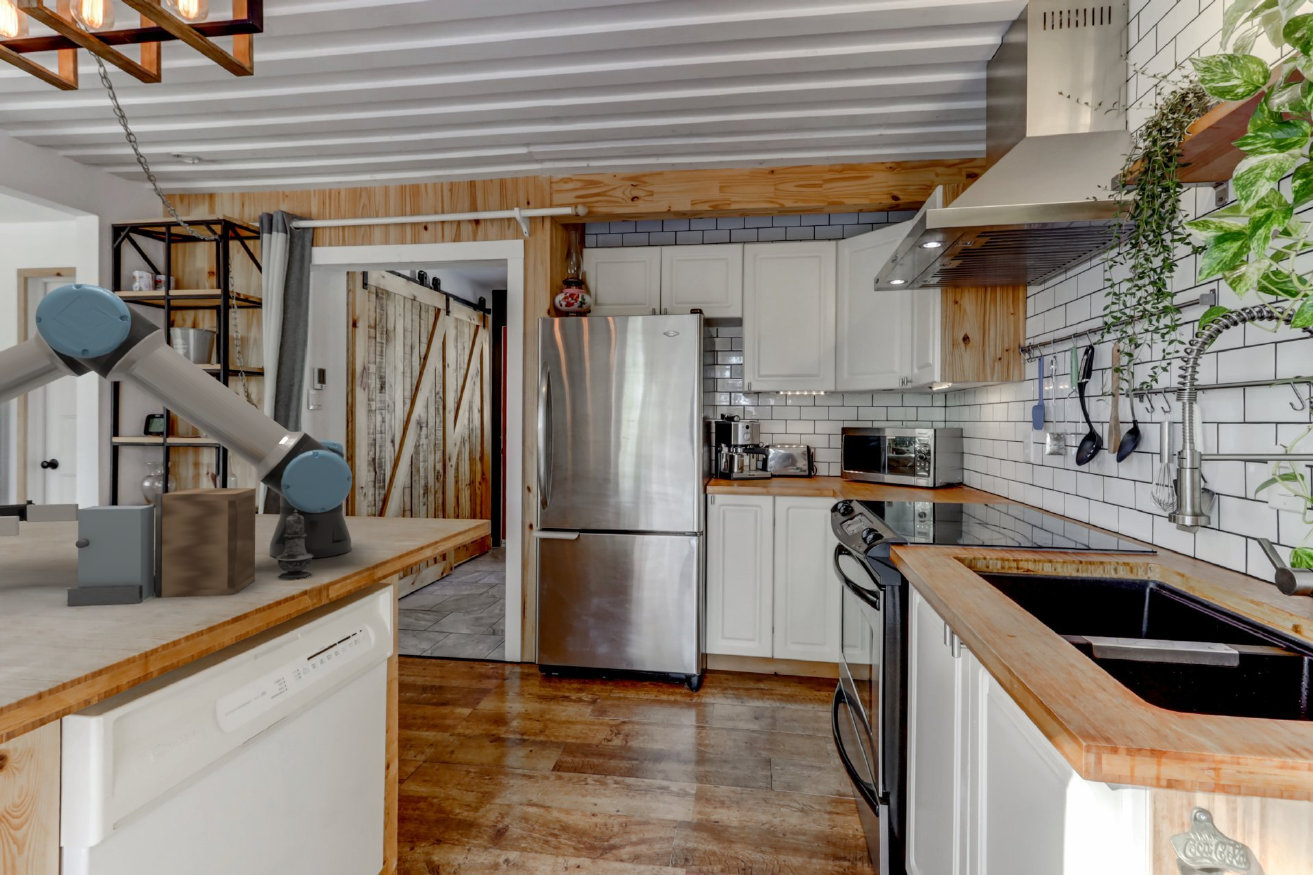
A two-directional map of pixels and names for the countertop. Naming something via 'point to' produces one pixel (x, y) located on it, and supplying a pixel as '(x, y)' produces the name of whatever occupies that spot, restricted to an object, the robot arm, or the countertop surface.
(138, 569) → the door
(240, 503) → the cabinet
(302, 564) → the salt shaker
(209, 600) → the countertop surface
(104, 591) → the hinge bracket
